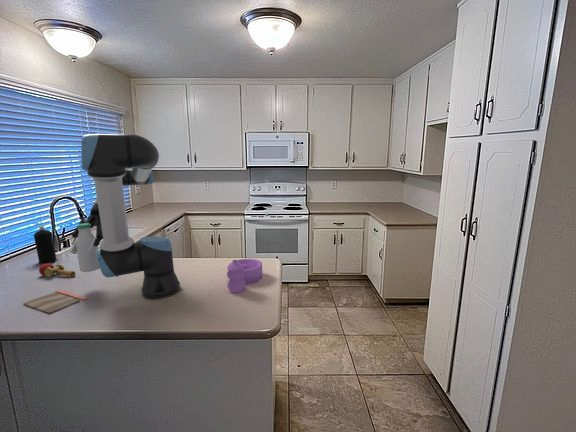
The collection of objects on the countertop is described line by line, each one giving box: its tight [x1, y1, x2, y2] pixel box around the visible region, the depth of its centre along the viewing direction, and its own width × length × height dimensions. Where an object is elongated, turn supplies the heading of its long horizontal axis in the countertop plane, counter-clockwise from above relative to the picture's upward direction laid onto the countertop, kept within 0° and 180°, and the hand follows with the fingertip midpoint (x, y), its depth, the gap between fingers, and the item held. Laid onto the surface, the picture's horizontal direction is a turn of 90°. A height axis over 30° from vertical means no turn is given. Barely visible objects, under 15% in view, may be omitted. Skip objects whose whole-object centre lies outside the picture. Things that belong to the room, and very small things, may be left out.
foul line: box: [54, 289, 89, 302], centre depth 131 cm, size 20×2×1 cm, turn 64°
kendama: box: [38, 263, 76, 278], centre depth 153 cm, size 8×6×18 cm
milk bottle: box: [76, 223, 100, 273], centre depth 134 cm, size 8×8×20 cm
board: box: [23, 291, 81, 315], centre depth 125 cm, size 18×11×1 cm, turn 64°
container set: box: [226, 258, 263, 294], centre depth 139 cm, size 25×15×13 cm, turn 171°
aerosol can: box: [33, 225, 58, 265], centre depth 172 cm, size 8×8×20 cm
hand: (81, 252), depth 131 cm, fingers closed on milk bottle, 7 cm apart
